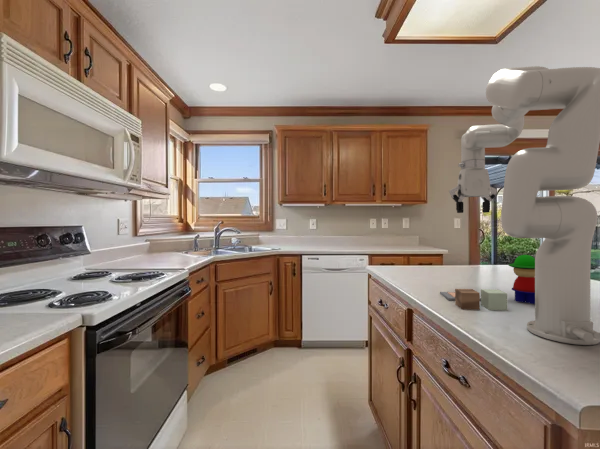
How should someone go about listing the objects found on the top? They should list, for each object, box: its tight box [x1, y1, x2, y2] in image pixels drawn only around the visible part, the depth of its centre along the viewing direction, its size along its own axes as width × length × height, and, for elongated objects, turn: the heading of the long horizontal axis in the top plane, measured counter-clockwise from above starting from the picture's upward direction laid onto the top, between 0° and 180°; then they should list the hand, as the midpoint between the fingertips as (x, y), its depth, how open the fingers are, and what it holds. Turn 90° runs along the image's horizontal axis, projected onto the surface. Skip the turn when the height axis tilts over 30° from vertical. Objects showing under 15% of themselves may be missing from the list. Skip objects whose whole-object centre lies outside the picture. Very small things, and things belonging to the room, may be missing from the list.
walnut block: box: [454, 288, 481, 311], centre depth 91 cm, size 5×5×5 cm
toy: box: [508, 254, 535, 305], centre depth 96 cm, size 9×9×15 cm
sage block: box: [480, 288, 508, 311], centre depth 90 cm, size 5×5×5 cm
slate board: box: [439, 291, 481, 302], centre depth 101 cm, size 9×10×1 cm
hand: (473, 212), depth 110 cm, fingers open, 9 cm apart
